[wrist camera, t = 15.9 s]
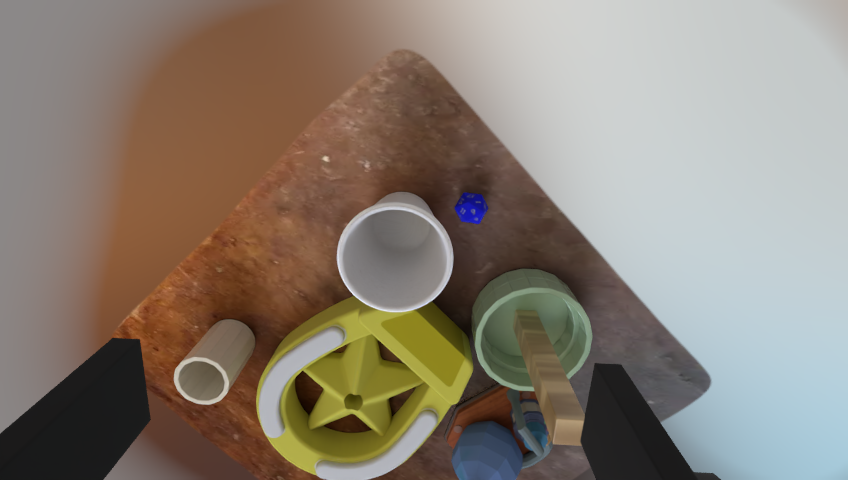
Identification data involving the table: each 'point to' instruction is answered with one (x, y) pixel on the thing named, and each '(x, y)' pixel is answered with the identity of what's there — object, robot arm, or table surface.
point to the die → (471, 208)
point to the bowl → (555, 312)
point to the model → (497, 434)
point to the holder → (215, 362)
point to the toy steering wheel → (363, 387)
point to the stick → (549, 380)
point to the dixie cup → (395, 254)
